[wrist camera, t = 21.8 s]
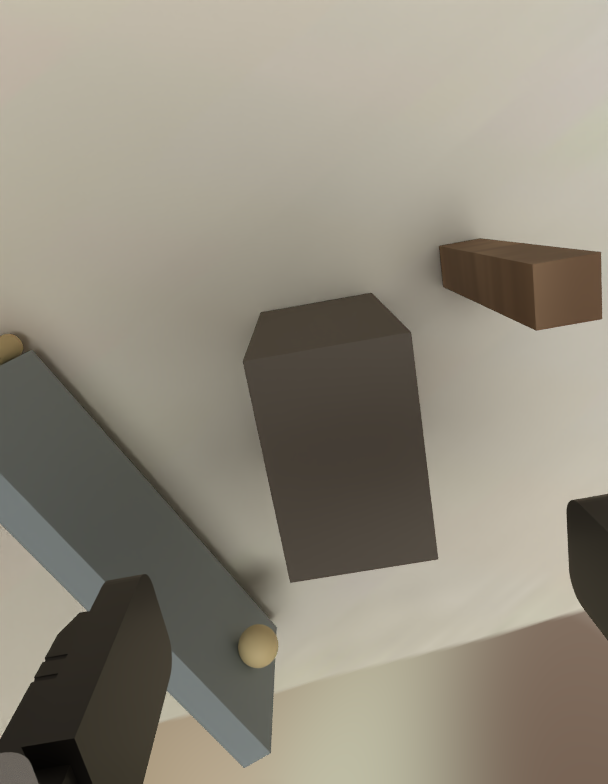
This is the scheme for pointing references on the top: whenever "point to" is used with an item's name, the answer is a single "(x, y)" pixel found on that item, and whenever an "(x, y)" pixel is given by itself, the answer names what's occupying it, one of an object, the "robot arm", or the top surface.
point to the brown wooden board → (526, 280)
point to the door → (131, 550)
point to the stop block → (341, 437)
